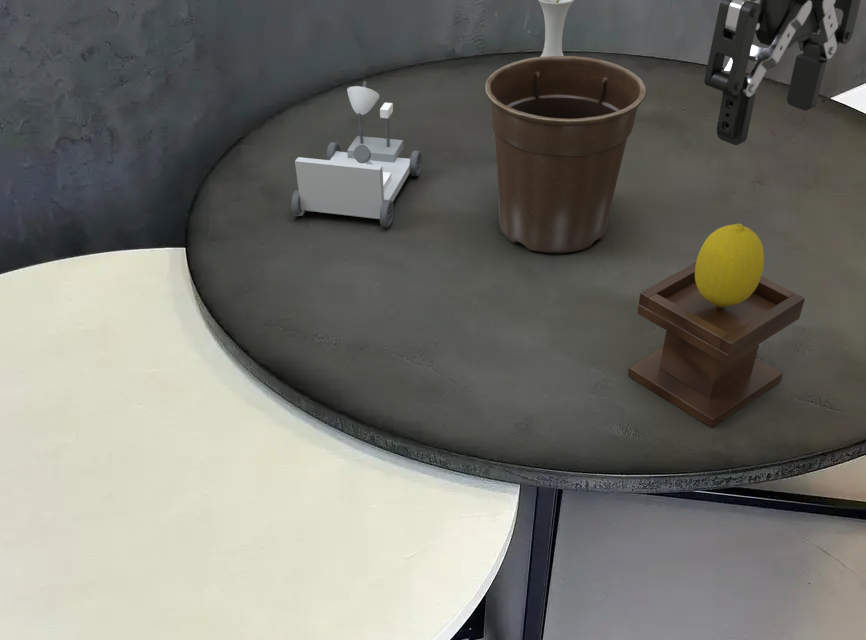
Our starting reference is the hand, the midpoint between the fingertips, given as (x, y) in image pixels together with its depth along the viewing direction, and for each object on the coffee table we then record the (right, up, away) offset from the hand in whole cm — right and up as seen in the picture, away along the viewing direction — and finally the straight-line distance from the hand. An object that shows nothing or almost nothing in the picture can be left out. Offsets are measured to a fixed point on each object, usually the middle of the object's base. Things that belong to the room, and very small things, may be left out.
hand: (766, 123), depth 76 cm
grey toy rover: (-33, +9, +45) cm, 56 cm away
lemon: (0, -12, +11) cm, 17 cm away
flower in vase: (-8, +25, +59) cm, 65 cm away
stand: (0, -17, +17) cm, 24 cm away
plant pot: (-11, +3, +37) cm, 39 cm away
